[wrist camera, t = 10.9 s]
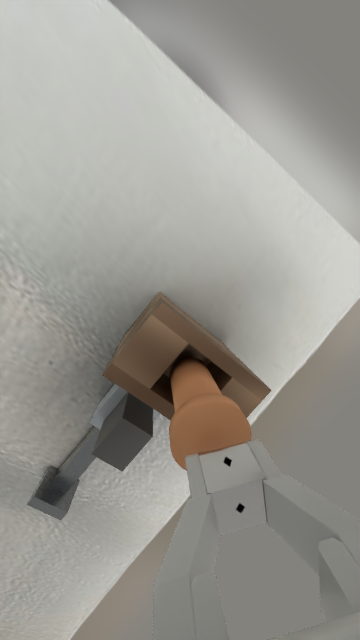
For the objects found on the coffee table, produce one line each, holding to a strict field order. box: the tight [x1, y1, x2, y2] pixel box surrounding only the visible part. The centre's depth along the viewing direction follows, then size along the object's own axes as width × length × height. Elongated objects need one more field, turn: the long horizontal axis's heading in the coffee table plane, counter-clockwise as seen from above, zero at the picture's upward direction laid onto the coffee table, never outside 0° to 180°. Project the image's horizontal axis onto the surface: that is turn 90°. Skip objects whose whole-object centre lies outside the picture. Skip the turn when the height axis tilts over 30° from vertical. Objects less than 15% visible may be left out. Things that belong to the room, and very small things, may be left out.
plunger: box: [169, 357, 251, 471], centre depth 12 cm, size 4×4×6 cm
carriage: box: [89, 384, 160, 471], centre depth 20 cm, size 6×5×8 cm
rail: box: [27, 426, 100, 520], centre depth 23 cm, size 19×4×4 cm, turn 140°
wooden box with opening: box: [103, 292, 271, 420], centre depth 19 cm, size 6×10×10 cm, turn 50°
